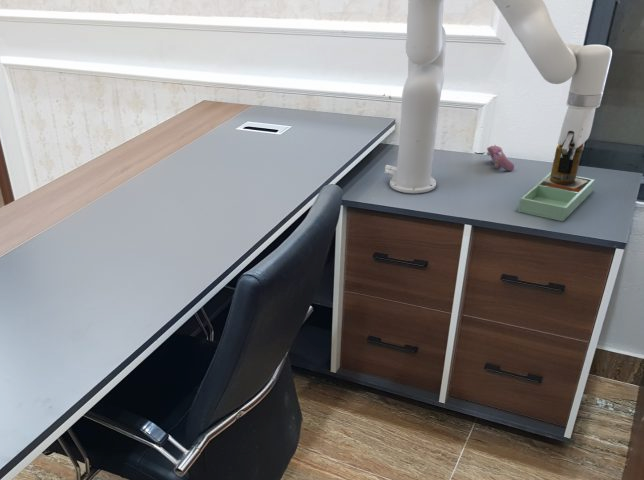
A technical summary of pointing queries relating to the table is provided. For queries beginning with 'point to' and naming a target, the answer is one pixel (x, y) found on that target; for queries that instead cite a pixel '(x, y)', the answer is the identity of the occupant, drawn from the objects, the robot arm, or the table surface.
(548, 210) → the tray
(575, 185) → the condiment
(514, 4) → the robot arm
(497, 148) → the pink animal figurine
